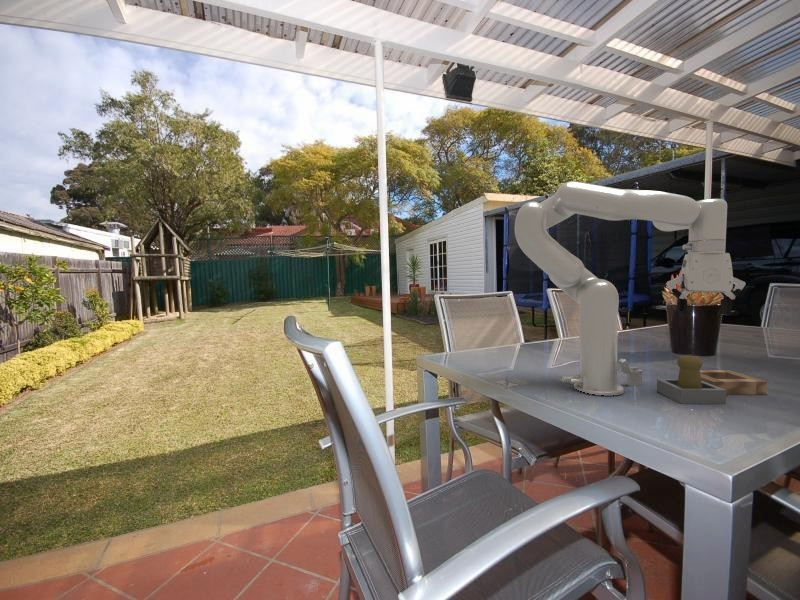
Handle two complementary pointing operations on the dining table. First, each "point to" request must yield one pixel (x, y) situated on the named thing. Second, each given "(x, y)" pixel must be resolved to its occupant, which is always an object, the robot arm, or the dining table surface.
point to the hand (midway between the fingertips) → (703, 314)
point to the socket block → (734, 382)
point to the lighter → (631, 373)
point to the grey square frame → (691, 393)
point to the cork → (689, 372)
